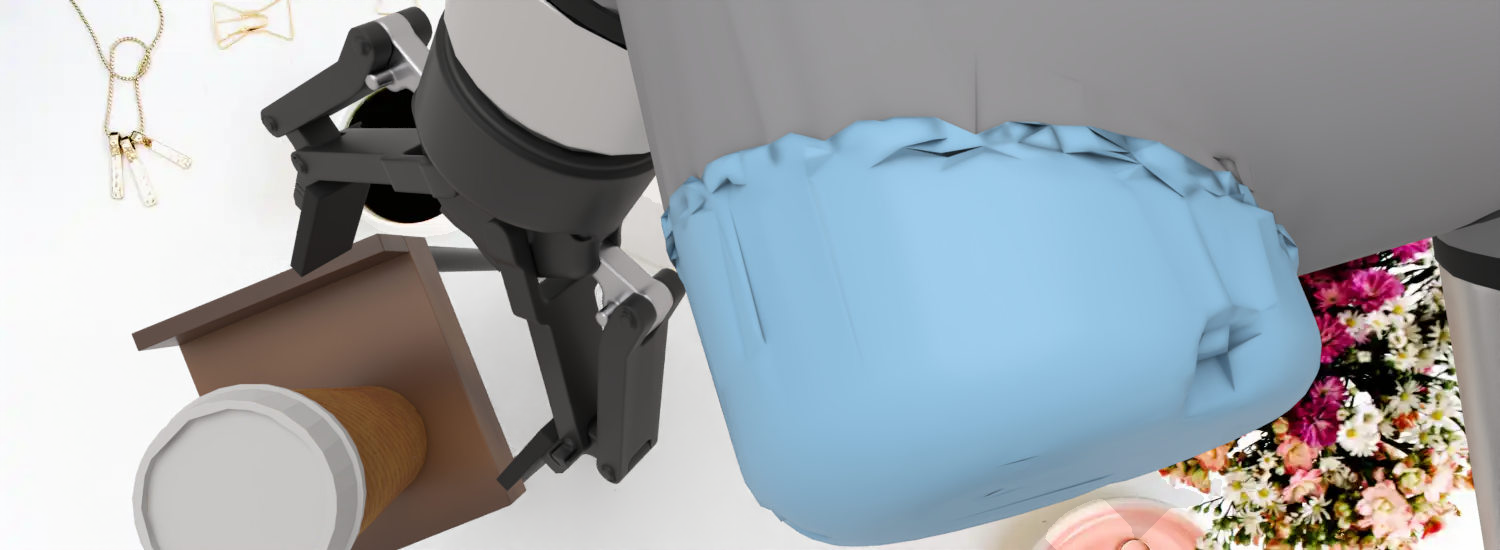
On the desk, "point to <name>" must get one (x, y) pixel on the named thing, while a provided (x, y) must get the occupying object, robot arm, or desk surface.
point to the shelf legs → (468, 261)
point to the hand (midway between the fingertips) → (421, 361)
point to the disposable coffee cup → (276, 468)
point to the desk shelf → (364, 368)
